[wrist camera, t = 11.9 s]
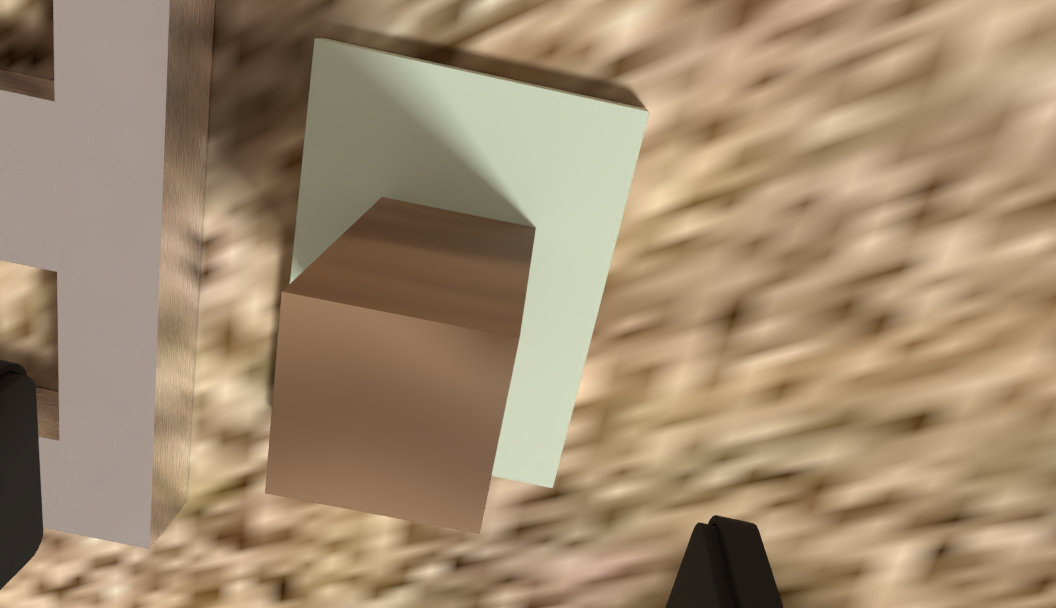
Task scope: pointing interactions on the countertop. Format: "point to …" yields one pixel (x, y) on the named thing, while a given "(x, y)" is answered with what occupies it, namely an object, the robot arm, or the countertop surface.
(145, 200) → the socket plate
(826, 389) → the countertop surface
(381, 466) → the walnut block
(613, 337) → the countertop surface
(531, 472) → the sage pad
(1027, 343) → the countertop surface
